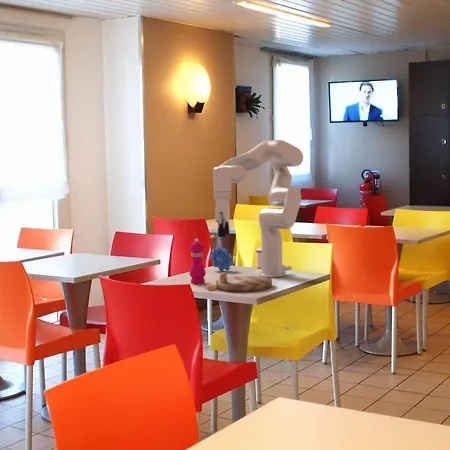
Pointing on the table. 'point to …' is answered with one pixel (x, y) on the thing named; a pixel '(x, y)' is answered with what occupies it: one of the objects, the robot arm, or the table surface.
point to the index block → (209, 287)
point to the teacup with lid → (259, 257)
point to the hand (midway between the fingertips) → (223, 235)
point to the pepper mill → (197, 263)
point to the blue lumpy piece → (221, 258)
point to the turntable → (243, 283)
